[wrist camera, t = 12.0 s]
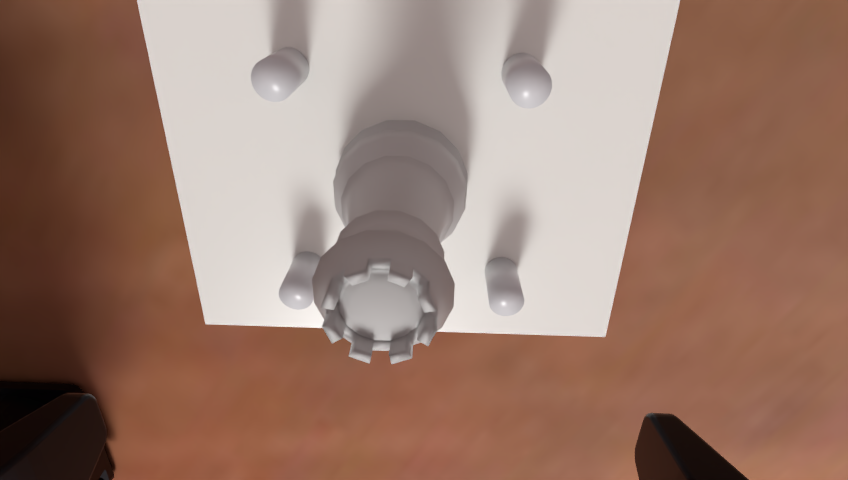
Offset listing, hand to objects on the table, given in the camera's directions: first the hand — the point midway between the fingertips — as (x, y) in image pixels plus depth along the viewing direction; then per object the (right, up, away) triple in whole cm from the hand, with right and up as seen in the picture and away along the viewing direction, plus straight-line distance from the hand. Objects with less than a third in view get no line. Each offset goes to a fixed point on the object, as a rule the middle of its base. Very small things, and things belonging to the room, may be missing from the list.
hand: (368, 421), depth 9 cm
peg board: (0, +6, +11) cm, 12 cm away
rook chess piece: (0, +5, +10) cm, 11 cm away
